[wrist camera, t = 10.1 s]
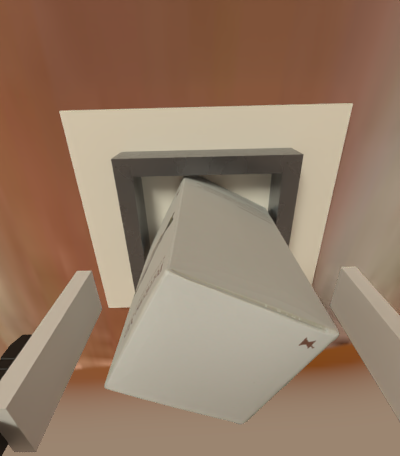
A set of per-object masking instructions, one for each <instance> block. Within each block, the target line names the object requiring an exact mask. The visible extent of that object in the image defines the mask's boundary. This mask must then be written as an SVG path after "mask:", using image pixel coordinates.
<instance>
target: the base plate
mask: <svg viewBox="0 0 400 456" xmlns="http://www.w3.org/2000/svg"><path fill="white" fill-rule="evenodd" d="M352 105H353V104H350V103H337V104H298V105H259V106H221V107H182V108H143V109H104V110H67V111H59V112H60V116H61V120H62V124H63V128H64V132H65V136H66V140H67V144H68V148H69V152H70V156H71V160H72V164H73V168H74V172H75V176H76V180H77V184H78V188H79V191H80V195H81V199H82V203H83V207H84V211H85V215H86V219H87V223H88V227H89V231H90V235H91V239H92V243H93V247H94V251H95V255H96V259H97V263H98V267H99V271H100V275H101V279H102V283H103V287H104V291H105V295H106V299H107V303H108V307H109V308H120V307H130V306H131V303H132V300H133V297H134V294H135V289H134V284H133V278H132V273H131V267H130V262H129V256H128V251H127V245H126V240H125V234H124V229H123V223H122V218H121V212H120V206H119V201H118V195H117V190H116V184H115V179H114V173H113V168H112V162H111V159H112V158H113V157H115V156H116V155H118V154H119V153H121V152H136V151H176V150H217V149H258V148H293V149H294V150H296V151H298V152H300V153H302V154H304V155H303V162H302V168H301V174H300V180H299V187H298V193H297V199H296V205H295V212H294V218H293V224H292V230H291V237H290V243H289V249H290V250H291V252H292V254H293V255H294V257H295V259H296V260H297V262H298V264H299V266H300V267H301V269H302V271H303V272H304V274H305V276H306V277H307V279H308V281H309V282H310V284H311V286H312V282H313V278H314V273H315V269H316V265H317V260H318V256H319V251H320V247H321V242H322V238H323V234H324V229H325V225H326V220H327V216H328V211H329V207H330V203H331V198H332V194H333V189H334V185H335V181H336V176H337V172H338V167H339V163H340V158H341V154H342V150H343V145H344V141H345V136H346V132H347V128H348V123H349V119H350V114H351V110H352ZM199 176H201V177H203V178H205V179H207V180H209V181H211V182H213V183H215V184H217V185H219V186H222V187H224V188H226V189H228V190H230V191H232V192H234V193H236V194H238V195H240V196H242V197H244V198H246V199H248V200H250V201H252V202H254V203H256V204H258V205H261V206H263V207H265V208H266V210H267V211H268V204H269V195H270V185H271V176H272V174H232V175H199ZM182 178H183V176H149V177H141V179H142V187H143V195H144V202H145V210H146V217H147V225H148V233H149V240H150V247H151V244H152V242H153V240H154V238H155V236H156V234H157V232H158V230H159V228H160V226H161V224H162V222H163V219H164V217H165V215H166V213H167V211H168V209H169V207H170V205H171V203H172V201H173V198H174V196H175V194H176V192H177V190H178V188H179V185H180V183H181V181H182Z"/></svg>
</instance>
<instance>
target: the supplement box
mask: <svg viewBox="0 0 400 456" xmlns="http://www.w3.org/2000/svg"><path fill="white" fill-rule="evenodd" d="M338 336H339V331H338V329H337V328H336V326H335V324H334V322H333V321H332V319H331V318H330V316H329V314H328V313H327V311H326V309H325V308H324V306H323V304H322V303H321V301H320V299H319V298H318V296H317V294H316V292H315V291H314V289H313V287H312V286H311V284H310V282H309V281H308V279H307V277H306V276H305V274H304V272H303V271H302V269H301V267H300V266H299V264H298V262H297V260H296V259H295V257H294V255H293V254H292V252H291V250H290V249H289V247H288V245H287V244H286V242H285V240H284V238H283V237H282V235H281V233H280V232H279V230H278V228H277V227H276V225H275V223H274V222H273V220H272V218H271V217H270V215H269V213H268V211H267V210H266V208H265V207H263V206H261V205H258V204H256V203H254V202H252V201H250V200H248V199H246V198H244V197H242V196H240V195H238V194H236V193H234V192H232V191H230V190H228V189H226V188H224V187H222V186H219V185H217V184H215V183H213V182H211V181H209V180H207V179H205V178H203V177H201V176H199V175H190V176H183V178H182V181H181V183H180V185H179V188H178V190H177V192H176V194H175V196H174V198H173V201H172V203H171V205H170V207H169V209H168V211H167V213H166V215H165V217H164V219H163V222H162V224H161V226H160V228H159V230H158V232H157V234H156V236H155V238H154V240H153V242H152V244H151V247H150V250H149V253H148V256H147V259H146V262H145V265H144V268H143V271H142V273H141V276H140V279H139V282H138V285H137V288H136V291H135V294H134V297H133V300H132V303H131V306H130V309H129V313H128V316H127V319H126V322H125V325H124V328H123V331H122V334H121V337H120V340H119V343H118V346H117V349H116V352H115V355H114V358H113V361H112V364H111V367H110V370H109V373H108V376H107V379H106V382H105V385H104V387H105V388H106V389H109V390H112V391H116V392H119V393H123V394H126V395H130V396H133V397H137V398H141V399H145V400H149V401H153V402H156V403H160V404H163V405H168V406H171V407H175V408H179V409H183V410H187V411H191V412H195V413H199V414H203V415H206V416H211V417H214V418H219V419H223V420H227V421H231V422H234V423H237V424H244V423H245V422H247V421H248V420H249V419H250V418H251V417H252V416H253V415H254V414H255V413H256V412H257V411H258V410H259V409H260V408H262V407H263V406H264V405H265V404H266V403H267V402H268V401H269V400H270V399H271V398H272V397H273V396H274V395H275V394H277V393H278V392H279V391H280V390H281V389H282V388H283V387H284V386H286V385H287V384H288V383H289V382H290V381H291V380H292V379H293V378H294V377H295V376H296V375H297V374H298V373H299V372H300V371H301V370H302V369H303V368H304V367H305V366H306V365H307V364H309V362H311V361H312V360H313V359H314V358H315V357H316V356H317V355H318V354H319V353H321V352H322V351H323V350H324V349H325V348H326V347H327V346H328V345H329V344H330V343H331V342H333V341H334V340H335V339H336V338H337V337H338Z"/></svg>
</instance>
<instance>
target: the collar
mask: <svg viewBox="0 0 400 456" xmlns="http://www.w3.org/2000/svg"><path fill="white" fill-rule="evenodd" d="M303 155H304V154H302V153H300V152H298V151H296V150H294V149H293V148H258V149H217V150H176V151H136V152H121V153H119V154H118V155H116V156H115V157H113V158H112V159H111V162H112V168H113V173H114V179H115V184H116V190H117V195H118V201H119V206H120V212H121V218H122V223H123V229H124V234H125V240H126V245H127V251H128V256H129V262H130V267H131V273H132V278H133V284H134V289H135V291H136V288H137V285H138V282H139V279H140V276H141V273H142V271H143V268H144V265H145V262H146V259H147V256H148V253H149V250H150V240H149V233H148V225H147V217H146V210H145V202H144V195H143V187H142V179H141V177H149V176H190V175H232V174H272V176H271V185H270V195H269V204H268V213H269V215H270V217H271V218H272V220H273V222H274V223H275V225H276V227H277V228H278V230H279V232H280V233H281V235H282V237H283V238H284V240H285V242H286V244H287V245H288V247H289V243H290V237H291V230H292V224H293V218H294V212H295V205H296V199H297V193H298V187H299V180H300V174H301V168H302V162H303Z"/></svg>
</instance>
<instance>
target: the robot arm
mask: <svg viewBox="0 0 400 456" xmlns="http://www.w3.org/2000/svg"><path fill="white" fill-rule="evenodd" d="M330 307H331V309H332V311H333V312H334V314H335V316H336V317H337V319H338V321H339V322H340V324H341V326H342V327H343V329H344V331H345V332H346V334H347V335H348V337H349V339H350V340H351V342H352V344H353V345H354V347H355V349H356V350H357V352H358V354H359V355H360V357H361V359H362V360H363V362H364V364H365V365H366V367H367V368H368V370H369V372H370V374H371V375H372V377H373V378H374V380H375V382H376V384H377V385H378V387H379V388H380V390H381V392H382V393H383V395H384V396H385V398H386V400H387V402H388V403H389V405H390V407H391V408H392V410H393V412H394V413H395V415H396V416H397V418H398V420H399V422H400V315H399V314H398V313H397V312H396V311H395V310H394V309H393V308H392V307H391V305H390V304H389V303H388V302H387V301H386V300H385V299H384V298H383V296H382V295H381V294H380V293H379V292H378V291H377V290H376V289H375V287H374V286H373V285H372V284H371V283H370V282H369V281H368V280H367V278H366V277H365V276H364V275H363V274H362V273H361V272H360V271H359V270H358V268H357V267H341V269H340V273H339V276H338V279H337V283H336V286H335V290H334V293H333V296H332V300H331V303H330ZM101 310H102V307H101V303H100V299H99V296H98V292H97V289H96V285H95V282H94V278H93V274H92V271H77V272H76V273H75V275H74V276H73V278H72V279H71V280H70V282H69V283H68V285H67V286H66V288H65V289H64V290H63V292H62V293H61V295H60V296H59V298H58V299H57V300H56V302H55V303H54V305H53V306H52V308H51V309H50V310H49V312H48V313H47V315H46V316H45V317H44V319H43V320H42V322H41V323H40V325H39V326H38V327H37V329H36V330H35V332H34V333H33V335H22V336H21V337H20V338H18V339H17V340H16V341H15V342H14V343H12V344H11V345H10V346H9V347H8V349H7V350H6V351H5V353H4V354H3V356H2V357H1V360H0V456H2V454H3V452H4V451H5V448H6V447H7V445H9V446H10V447H11V448H12V450H13V451H14V452H36V451H37V449H38V446H39V444H40V442H41V440H42V438H43V436H44V434H45V431H46V429H47V427H48V425H49V423H50V421H51V418H52V416H53V414H54V412H55V410H56V408H57V405H58V403H59V401H60V399H61V397H62V395H63V392H64V390H65V388H66V386H67V384H68V382H69V379H70V377H71V375H72V373H73V371H74V369H75V366H76V364H77V362H78V360H79V358H80V356H81V354H82V351H83V349H84V347H85V345H86V343H87V341H88V338H89V336H90V334H91V332H92V330H93V328H94V325H95V323H96V321H97V319H98V317H99V315H100V312H101Z"/></svg>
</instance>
